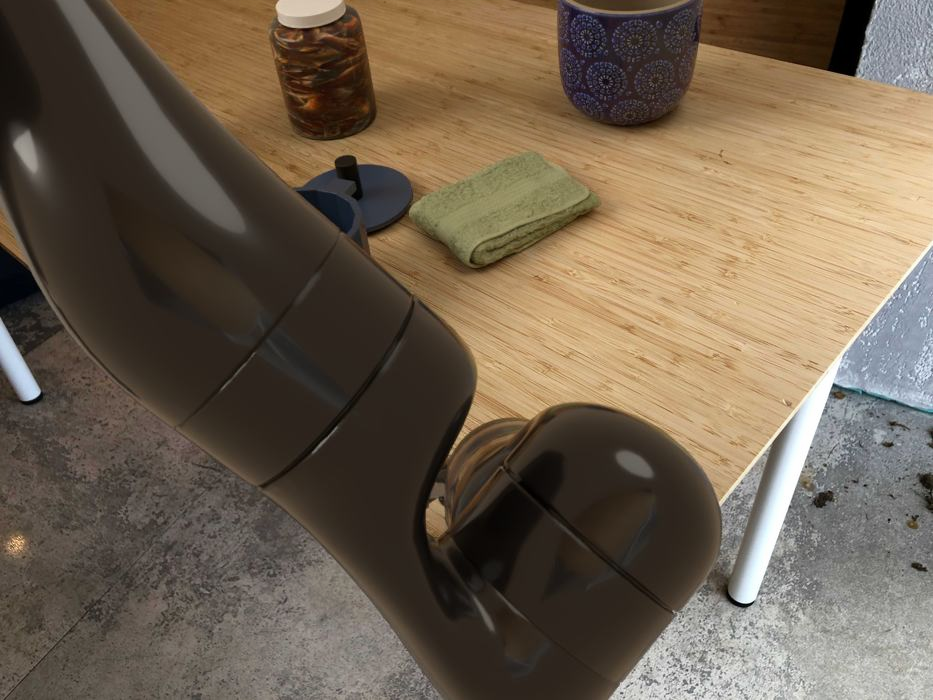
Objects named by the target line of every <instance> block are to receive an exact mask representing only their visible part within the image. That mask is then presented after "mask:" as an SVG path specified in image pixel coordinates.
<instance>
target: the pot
mask: <svg viewBox="0 0 933 700" xmlns="http://www.w3.org/2000/svg"><path fill="white" fill-rule="evenodd" d="M292 188H293V189H294V190H295V191H296V192H298V193H299V194H300V195H301V196H302V197H303V198H305V199H306V200H307V201H308V202H309V203H310V204H311V205H313V206H314V207H315V208H316V209H317V210H318V211H320V212H321V213H322V214H323V215H324V216H325V217H327V218H328V219H329V220H330V221H331V222H332V223H334V224H335V225H336V226H337V227H338V228H340V231H342V232H344V233H345V234H346V235H347V236H348V237H349V238H351V239H352V240H353V241H354V242H355V243H356V244H357V245H359V246H360V247H361V248H362V249H363V250H364V251H365V252H367V253H368V254H369V255H370V256H371V257H372V253H371V248H370V242H369V237H368V232H366V228H365V223H364V218H363V213H362V211H361V209H360V207H359V205H358V203H357V201H356V200H355V199H354V198H352V197H351V195H352V194H353V193H354V192H355V191H356V190H357V189H356V184H355V182H354V181H349V180H344V179H338V178H334V179H333V180H332V181H331V182H330V183H329V184H328V185H327V186H326V187H321V186H309V187H302V186H297V187H296V186H294V187H292Z"/></svg>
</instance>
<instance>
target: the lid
mask: <svg viewBox="0 0 933 700" xmlns="http://www.w3.org/2000/svg"><path fill="white" fill-rule="evenodd" d="M333 163H334V167H335V168H333V169H330V170H326V171H325V172H323V173H321V174H318V175H316V176H315V177H312V178H311V179H310V180H309V181H307V182H306V183H304V185H302V186H301V187H309V186H321V187H326V186H327V185H328V184H329V183H330V182H331V181H332V180H333V179H334V178H338V179H344V180H349V181H354V182H355V184H356V189H357V190H356V191H355V192H354V193H353V194H352V195H351V197H352V198H354V199H355V200H356V201H357V203H358V205H359V207H360V209H361V211H362V213H363V218H364V223H365V228H366V232H367V233H370V232H374V231H377V230H380V229H382V228H384V227H386V226H388V225H390V224H392V223H394V222H396V221H397V220H398V219H399V218H401V217H402V216H403V215H404V214H405V213H406V212H407V211H408V209H409V208H410V206H411V205H412V202H413V198H414V190H413V189H414V188H413V184H412V183H411V181H410V179H409V178H408V177H407V176H406V175H405V174H404V173H402V172H401V171H399V170H397V169H395V168H393V167H390V166H386V165H382V164H373V163H360V164H358V160H357V157H355V155H351V154H344V155H341V156H338V157H336V158H335V160H334V162H333Z"/></svg>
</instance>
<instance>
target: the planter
mask: <svg viewBox="0 0 933 700" xmlns="http://www.w3.org/2000/svg"><path fill="white" fill-rule="evenodd" d="M556 1H557V2H556V34H557V55H558V68H559V76H560V82H561V86H562V89H563V92H564V94H565V96H566V97H567V99H568V101H569V102H570V103H571V104H572V106H573V107H574V108H575V109H576V110H577V111H579V112H580V113H581V114H582V115H584V116H586V117H587V118H589V119H592V120H593V121H596V122H599V123H603V124H606V125H607V124H608V125H614V126H634V125H641V124H645V123H649V122H651V121H655V120H658V119H659V118H662V117H664V116H665V115H667V114H668V113H669V112H671V111H672V110H674V108H676V107H677V105H678V104H679V103H680V102H681V101H682V100H683V99H684V97H685V96H686V94H687V93H688V92H689V89H690V86H691V84H692V81H693V77H694V74H695V69H696V64H697V58H698V51H699V45H700V39H701V38H700V37H701V29H702V22H703V13H704V12H703V11H704V2H705V1H704V0H556Z"/></svg>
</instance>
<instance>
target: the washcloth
mask: <svg viewBox="0 0 933 700" xmlns="http://www.w3.org/2000/svg"><path fill="white" fill-rule="evenodd" d="M601 205H602V199H601V197H599V196H598V195H597V194H596V193H595V192H593V191H591V190H590V189H589V188H588V187H587V186H586V185H583V184H582V183H581V182H579V181H578V180H577V179H576V178H575V177H574V176H572V175H571V174H570V173H569V172H568V170H566V169H565V168H564V167H563V166H561V165H559V164H554V163H552V162H551V161H550V160H549V159H547V158H546V157H545V156H544V155H543V153H542V152H541V151H526V152H522V153H520V154H516V155H511V156H510V157H508V156H506V157H504V158H502V159H500V160H499V161H497V162H495V163H494V164H492V165H491V164H490V165H489V166H488V167H485V168H483V169H479V170H477V171H476V172H473V173H471V174H470V175H469V176H467V177H464V178H463V179H460V180H457V181H455V182H453V183H450V184H445V185H444V186H443V187H442V188H438V189H436V190H435V191H433V192H430V193H428V194H427V195H422V198H420V199H419V200H418V201H416V202H415V203H414V204H411V207H410V209H409V211H408V215H409V216H408V217H409V218H410V220H411V222H413V223H414V224H416V225H417V226H418V227H420V228H421V229H422V230H424V231H426V232H427V233H428V234H429V235H430V236H431V238H434V239H435V240H437V241H438V240H439V241H440V242H441V243H443V244H444V245H445V246H446V247H448V248H449V250H450V253H451V254H452V255H453V256H456V257H457V258H458V259H459V260H460V261H461V262H462V264H464V266H467V267H470V268H475V269H476V268H482V267H485V266H487V265H489V264H493V263H495V262H496V261H499V260H501V259H502V258H503V257H506V256H507V257H508V256H509V255H511V254H513V253H520V252H522V251H523V250H525V249H527V248H529V247H531V246H532V245H534V244H535V243H538V241H540V240H542V239H544V238H545V237H547V236H549V235H551V234H552V233H554V232H556V231H558V230H560V229H562V228H563V227H565V226H566V225H568V224H570V223H572V222H573V221H574V220H576V218H578V217H579V216H582V215H586V214H587V213H589V212H590V211H592V210H593V209H597V208H599V207H600V206H601Z"/></svg>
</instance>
